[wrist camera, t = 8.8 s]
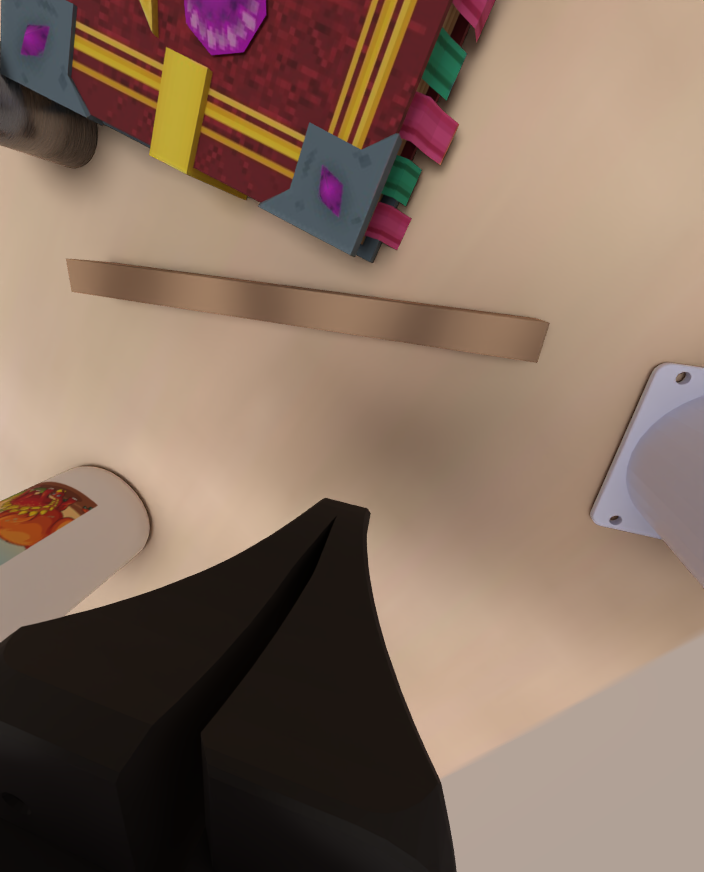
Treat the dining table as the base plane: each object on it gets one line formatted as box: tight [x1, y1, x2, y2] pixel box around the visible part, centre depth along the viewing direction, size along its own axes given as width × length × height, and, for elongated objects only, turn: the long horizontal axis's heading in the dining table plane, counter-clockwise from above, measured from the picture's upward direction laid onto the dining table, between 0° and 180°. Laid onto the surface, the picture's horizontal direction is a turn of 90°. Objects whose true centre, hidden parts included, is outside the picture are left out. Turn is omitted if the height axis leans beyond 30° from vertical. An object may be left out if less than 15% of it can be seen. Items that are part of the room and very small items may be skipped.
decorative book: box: [0, 0, 495, 263], centre depth 13 cm, size 11×16×5 cm
